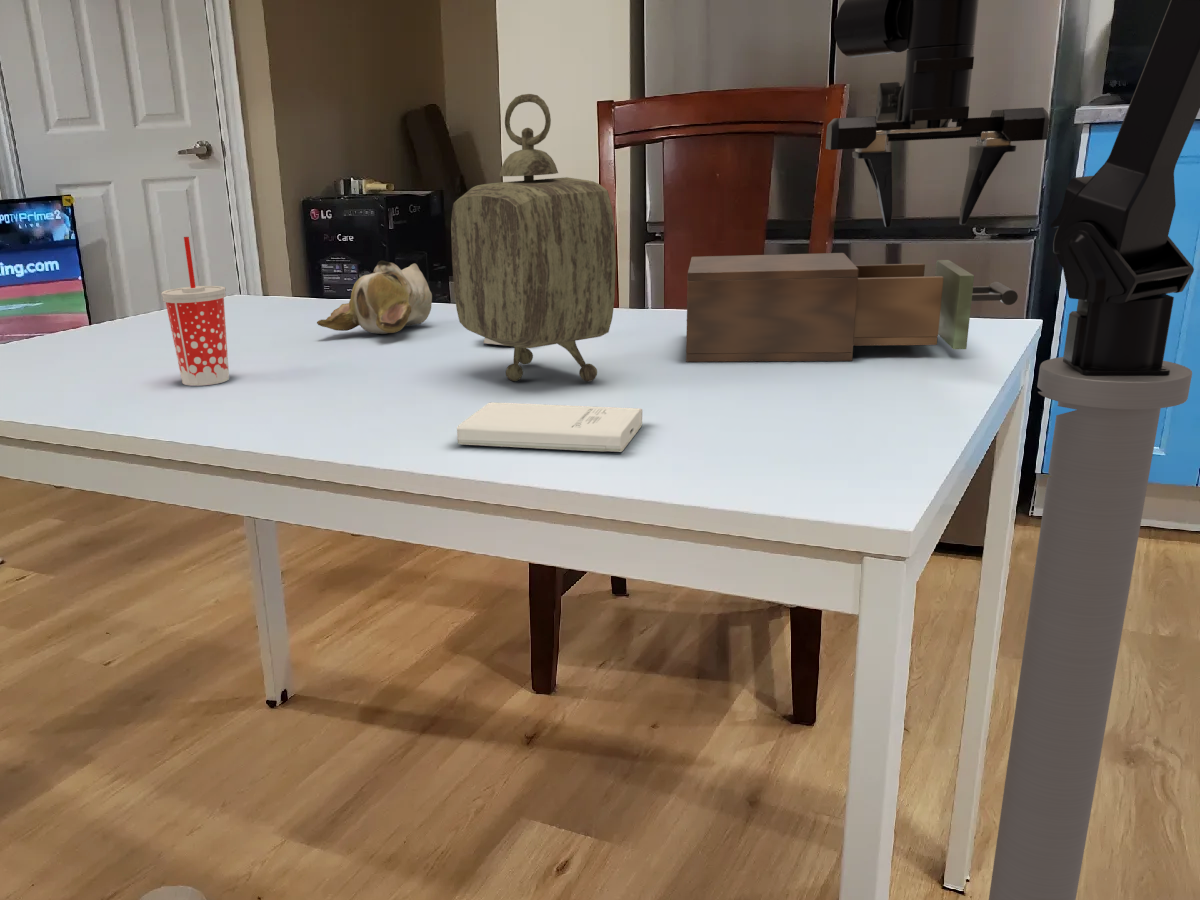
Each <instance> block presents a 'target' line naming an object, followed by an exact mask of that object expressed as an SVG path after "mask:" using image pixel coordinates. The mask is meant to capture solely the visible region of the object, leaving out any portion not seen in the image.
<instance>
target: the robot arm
mask: <svg viewBox="0 0 1200 900" xmlns="http://www.w3.org/2000/svg"><path fill="white" fill-rule="evenodd" d="M979 2H980V0H844V1H842V3H841V5H840V8H839V9H838V11H837V15H836V18H834V22H833V34H834V40H835V43H836V45H837V48H838V50H839V51H840V52H841V53H842V54H843V55H844V56H846V57H848V58H861V57H871V56H877V55H889V54H897V53H902V52H905V51H906V54H905V55H906V56H905V70H904V79H903V82H902V84H900V82H899V81H893V82H880V83H878V87H877V95H876V107H875V108H876V111H875V115H873V116H856V117H855V116H854V117H853V116H852V117H837V118H836V117H835V118H833V119H831V121H830V122H829V123H828V124H827V127H826V132H825V133H826V136H825V149H826V150H829V151H835V150H840V151H841V150H854V151H852V152H851V154H852V158H853V159H858V160H859V159H861V160H863V162H864V163H865V165H866V168H867V170H868V173H869V175H870V178H871V179H872V183H873V185H874V189H875V194H876V197H877V201H878V206H879V209H880V213H881V216H882V217H881V218H882V222H883V225H884V227H885V228H891V224H892V218H893V151H892V150H891V151H889V150H887V146H888V145H889V142H906V141H907V142H908V141H909V142H910V141H927V140H948V139H949V140H950V139H969V138H975V140H976V142H975V143H976V144H975V145H970V146H969V147H968V148H969V150H968V154H969V155H968V167H967V173H966V177H965V182H964V188H963V193H962V197H961V201H960V206H959V207H960V208H959V225H961V226H963V225H964V226H965V225H967V223H968V221H969V219H970V216H971V214H972V213H973V210H974V208H975V206H976V204H977V202H978V201H979V198H980V196H981V194H982V192H983V189H984V188H985V186H986V184H987V182H988V180H989V179H990V177H991V175H992V174H993V172H994V171H995V169H996V168H997V166H998V165H999V163H1000V162H1001V160H1002V158H1003V157H1004V155H1005V154H1006V153H1013V152H1016V151H1017V145H1014V144H1013V142H1027V141H1045V140H1046V141H1047V140H1048V136H1049V128H1050V115H1049V113H1048V111H1047V110H1046V109H1045V107H1042V106H1041V107H1027V108H1025V107H1023V108H1008V109H1007V108H1006V109H992V110H991V112H990V115H989V116H982V117H981V116H980V117H979V116H978V117H969V113H970V106H969V105H970V96H971V86H972V85H971V84H972V74H973V69H974V62H975V61H974V60H975V56H974V55H975V43H976V35H977V23H978V12H979ZM1199 111H1200V0H1169V3H1168V6H1167V9H1166V11H1165V14H1164V16H1163V18H1162V21H1161V23H1160V27H1159V28H1158V31H1157V34H1156V37H1155V39H1154V42H1153V44H1152V46H1151V49H1150V52H1149V54H1148V57H1147V59H1146V62H1145V64H1144V67H1143V69H1142V71H1141V75H1140V77H1139V80H1138V81H1137V85H1136V87H1135V90H1134V93H1133V95H1132V97H1131V100H1130V103H1129V105H1128V108H1127V109H1126V112H1125V115H1124V118H1123V119H1122V120H1123V121H1122V123H1121V125H1120V128H1119V131H1118V132H1117V136H1116V138H1115V141H1114V143H1113V146H1112V149H1111V151H1110V153H1109V155H1108V157H1107V159H1106V161H1105V162H1104V163H1103V164H1102V166H1101V167H1100V168H1099V169H1098V170H1097V171H1096V172H1095V173H1094V175H1086V176H1076V177H1072V178H1071V179H1070V180H1069V183H1068V184H1067V186H1066V189H1065V192H1064V197H1063V202H1062V206H1061V209H1060V211H1059V212H1058V215H1057V216H1056V217H1055V219H1054V220H1053V221H1052V222H1051V224H1050V228H1052V229H1056V228H1057V229H1056V231H1055V233H1054V236H1053V242H1052V249H1053V250H1052V252H1053V253H1054V254H1055V255H1056V258H1057V260H1058V263H1059V265H1060V266H1061V267H1062V270H1063V271H1062V272H1063V276H1064V281H1065V286H1066V291H1067V296H1068V298H1069V299H1071V300H1077V306H1076V310H1072V311H1071V312H1069V314H1068V321H1067V327H1066V335H1065V342H1064V349H1063V350H1064V351H1063V356H1062V357H1063V362H1065V363H1066V364H1067V365H1069V366H1070V367H1072V368H1073V369H1074V370H1076V371H1077V372H1079V373H1080V374H1082V375H1084V376H1168V375H1169V374H1170V369H1168V368H1166V367H1164V366H1162V365H1163V361H1164V358H1165V352H1166V347H1167V346H1166V345H1167V340H1168V335H1169V328H1170V323H1171V317H1172V312H1173V305H1174V300H1175V297H1174V296H1172V295H1169V294H1173V293H1174V294H1179V293H1182V292H1183V291H1184V289H1185V288H1186V286H1187V284H1188V282H1189V281H1190V279H1191V277H1192V276H1193V274H1194V272H1195V268H1194V266H1193V265H1192V264H1191V262H1190V261H1189V260H1188V259H1187V257H1186V256H1185V255H1184V254H1183V252H1182V251H1181V250H1180V249H1179V247H1177V245H1176V244H1175V242H1174V241H1173V240H1172V239H1171V237H1170V236H1169V235H1170V234H1169V233H1170V230H1171V225H1172V223H1173V218H1174V215H1175V210H1176V206H1177V205H1176V203H1177V202H1176V185H1175V169H1176V166H1177V164H1178V161H1179V159H1180V156H1181V154H1182V151H1183V149H1184V147H1185V144H1186V143H1187V140H1188V137H1189V135H1190V132H1191V130H1192V128H1193V125H1194V123H1195V122H1196V118H1197V116H1198V113H1199ZM950 122H951V123H956V125H955V126H949V124H950Z"/></svg>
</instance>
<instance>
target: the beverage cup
mask: <svg viewBox="0 0 1200 900" xmlns="http://www.w3.org/2000/svg"><path fill="white" fill-rule="evenodd" d="M183 242H184V243H183V244H184V249H185V250H184V251H185V256H186V257H185V258H186V263H187V271H188V272H187V273H188V279H189V286H184V287H178V288H170V289H167V290H163V291H162V292H161V293H160V295H161V297H162V302H163V303H165V306H166V311H167V317H168V320H169V327H170V331H171V335H172V340H173V345H174V349H175V355H176V359H177V365H178V369H179V374H180V378H181V383H182V384H183V385H184V386H190V387H192V386H193V387H194V386H195V387H201V386H212V385H217V384H222V383H225V382H227V381H229V379H230V372H229V357H228V356H229V354H228V341H227V325H226V312H225V311H226V310H225V298H226V297H227V294H226V287H225V286H221V285H196V279H195V273H194V265H193V258H192V252H191V243H190V237H189V236H183Z"/></svg>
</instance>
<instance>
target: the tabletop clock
mask: <svg viewBox="0 0 1200 900" xmlns="http://www.w3.org/2000/svg"><path fill="white" fill-rule="evenodd" d="M523 103H534V104H535V105H537V106H539V108H540V109H541V110H542V113H543V116H544V120H545V121H544V128H543V129H542V131H541V132H540V133H538V134H537V135H534V130H533V128H531V127H525V128H523V129H522V130H521V136H519V135H517V134H515V132H513V130H512V128H511V117H512V114H513V112H514V110H515V108H516V107H518V106H519V105H521V104H523ZM551 118H552V117H551V112H550V109H549V106H548V104H547V103H546V102H545V100H544V99H543V98H541V97H540V96H539V95H537V94H533V93H525V94H521V95H518V96H515V97H514V98H513V99H512V100H511V101H510V103H509V104H508V106H507V108H506V110H505V116H504V128H505V130H506V134H507V135H508V137H509V140H511V141H512V142H513V143H515V144H516V145H518V146H521V149H520V150H516V151H513V152H511V153H510V154H509V155H508V156H507V157H506V158H505V159H504V161H503V163H502V165H501V166H500V167H501V168H500V172H499V177H523V180H513V181H501V182H491V183H484V184H483V183H482V184H478V185H475V186H472V187H471V188H470V189H469V190H467V191H466V192H465V193H464V194H462V195H461V196H460V197H459V198H457V199H456V200H455V201H454V202H453V203H452V209H451V210H452V211H451V222H450V223H451V224H450V233H451V235H450V237H451V265H452V279H453V289H454V290H453V293H454V301H455V306H456V307H455V308H456V313H457V317H458V322H459V323H460V324H461V325H462V326H463V328H465V329H466V330H467V331H469V332H471V333H473V334H476V335H478V336H481V337H482V338H484V339H485V338H487V339H490V340H492V341H495V342H498V343H500V344H503V345H502V346H505V345H506V347H513V348H514V349H513V360H512V361H513V362H512V363H511V364H509V365H508V366H507V368H506V370H505V377H506V378H507V379H508V380H509V381H511V382H518V381H520V380H521V379H522V377H523V374H524V371H523V368H522V366H521V365H529V364H530V363H531V362H532V361H533V359H534V354H533V352H532V351H531V350H530V349H532V348H540V347H545V346H551V345H558V346H560V347H561V348H563V349H565V350H566V351H567V352H568V353H569V354H570V355H571V356H572V358H573V359H574V360H575V361H576V363H577V364H578V365H579V366H580V369H579V377H580V378H581V379H582V380H583V381H584V382H592V381H594V380H595V379H596V378H597V375H598V369H597V368H596V367H595V365H593V364H592V363H586V361H585V360H584V357H583V356H582V354H581V351H580V350H579V348H578V345H577V343H576V342H577V341H583V340H589V339H594V338H600V337H602V336H604V335H606V334H609V332H610V328H611V325H612V320H613V315H614V307H615V299H616V298H615V297H616V272H617V271H616V270H617V256H616V235H615V223H614V222H615V221H614V214H613V206H612V203H611V198H610V195H609V191H608V190H607V189H606V188H605V187H603V186H602V185H601V184H600V183H598V182H595V181H593V180H588V179H582V178H575V177H568V176H566V177H555V178H554V177H553V178H540V179H535V176H546V175H555V174H559V171H558V168H557V165H556V163H555V161H554V159H553V158H552V156H551V155H549V153H547V152H546V151H544V150H541V149H535V145H539V144H540V143H542V142H543V141H544V140H545V139H546V137H547V136H548V133H549V132H550V128H551V125H552V124H551V123H552V119H551ZM519 364H521V365H519Z"/></svg>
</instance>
